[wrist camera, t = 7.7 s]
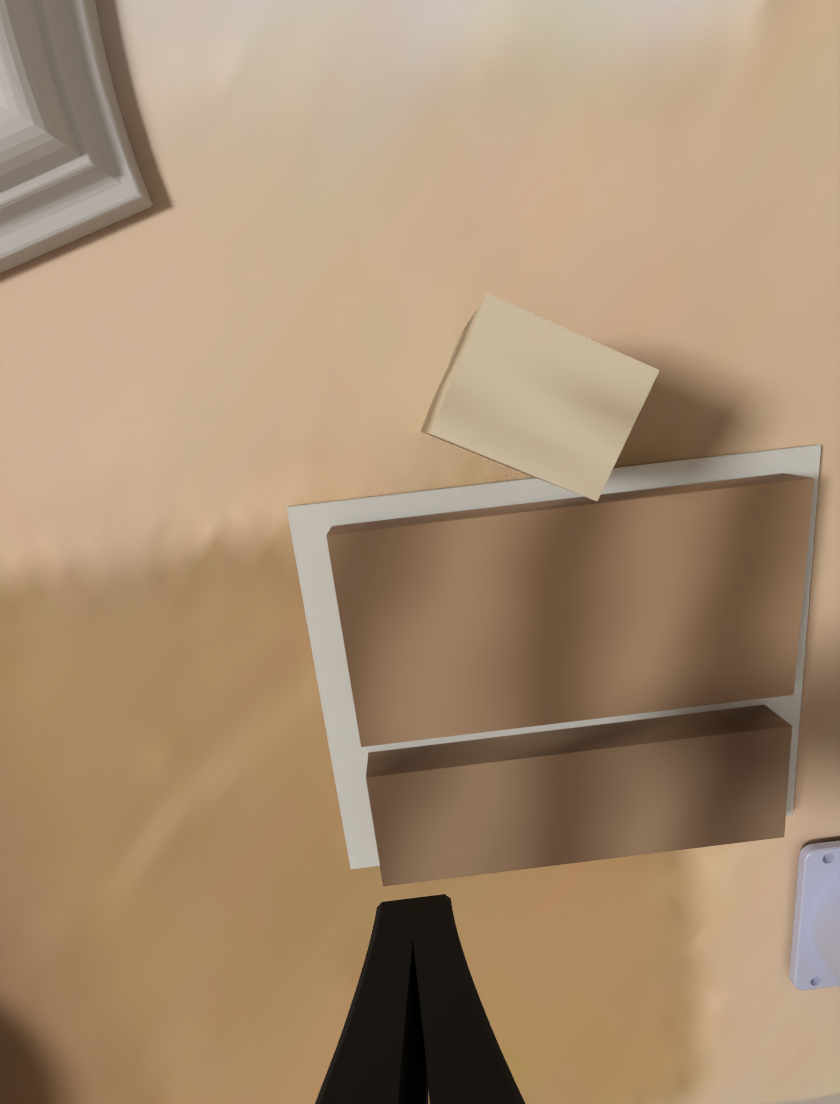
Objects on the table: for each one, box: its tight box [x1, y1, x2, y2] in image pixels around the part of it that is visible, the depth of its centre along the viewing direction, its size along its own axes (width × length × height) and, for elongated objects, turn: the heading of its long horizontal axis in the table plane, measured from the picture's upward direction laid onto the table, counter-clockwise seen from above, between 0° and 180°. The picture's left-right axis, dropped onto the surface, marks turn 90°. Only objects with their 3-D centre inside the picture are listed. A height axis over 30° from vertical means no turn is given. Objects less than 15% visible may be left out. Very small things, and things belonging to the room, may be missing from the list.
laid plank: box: [366, 705, 792, 886], centre depth 20 cm, size 16×5×2 cm, turn 96°
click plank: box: [326, 473, 814, 747], centre depth 18 cm, size 16×8×1 cm, turn 96°
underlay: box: [287, 445, 821, 869], centre depth 20 cm, size 19×16×1 cm
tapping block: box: [421, 293, 660, 501], centre depth 14 cm, size 7×4×3 cm
